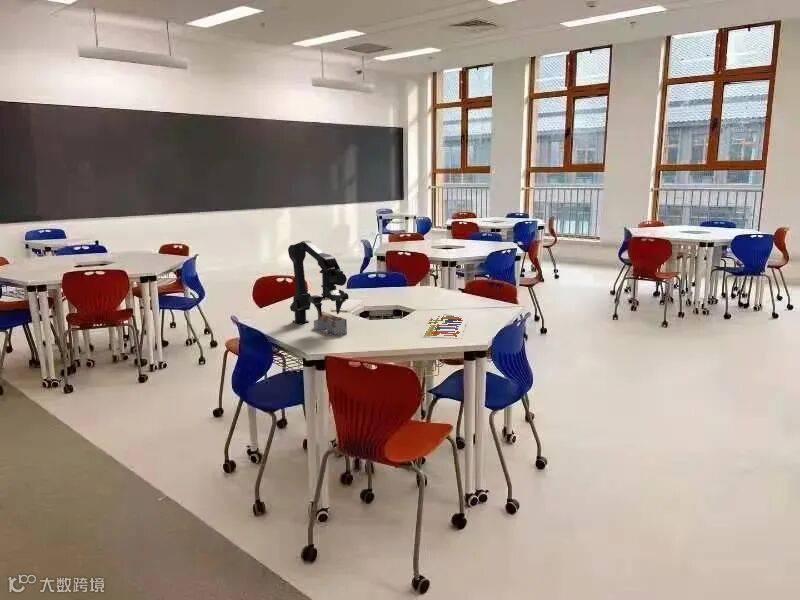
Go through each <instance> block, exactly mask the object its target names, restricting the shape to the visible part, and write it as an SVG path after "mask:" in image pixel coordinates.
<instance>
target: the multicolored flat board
mask: <svg viewBox="0 0 800 600" xmlns="http://www.w3.org/2000/svg"><path fill="white" fill-rule="evenodd" d="M444 315H446V317H444ZM454 316H455V315H450V314H446V313H445V314H443V317H442V318H441V320H438V319H439V318H437V319H436V320H433V319H432V317H431V318H430V319H429V320H428V322H429V321H432V320H433V321H435V322H429V323H428V322H427V324H431V323H434V324H436V323H438V322H437V321H443V319H448V320H445V323H442V324H447V323H462V322H453V321H457V320H458V321H463V320H461V319H462V318H459V317H460V316H459V317H454ZM438 317H440V316H438ZM427 324H426V325H427ZM457 325H461V324H448V325H439V324H437V326H436V325H430V326H431V327H429V329H428V331H426V333H425V335H424V336H437V335H439V334H440V333H441V334H453V335H444V336H455V337H457V335H456V334H459V333H460V332H459V331H457V332H456V333H448V332H455V331H437V330H440V329H455V330H458V328H457V327H459V326H457ZM435 326H436V327H437V328H436V327H435ZM439 326H456V328H455V327H439ZM434 328H435V329H434ZM433 330H436V331H433ZM432 334H433V335H432Z"/></svg>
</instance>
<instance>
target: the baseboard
mask: <svg viewBox="0 0 800 600" xmlns="http://www.w3.org/2000/svg"><path fill="white" fill-rule="evenodd" d="M362 301H363V300H362V299H353V298H352V299H346V301H345V302H343V304H342V306H341V308H340V311H339V313H351V311H353V310H354V309H355V308H356V307H358V306H359V305H360V304H362V303H363V302H362ZM361 302H362V303H361ZM358 304H359V305H358ZM357 305H358V306H357ZM352 309H353V310H352ZM333 311H336V306H334V307H333V308H330V312H333Z"/></svg>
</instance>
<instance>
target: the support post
mask: <svg viewBox="0 0 800 600" xmlns="http://www.w3.org/2000/svg"><path fill="white" fill-rule="evenodd" d="M315 328H316V330H317V329H319V330H324V329H323V328H326V329H327V323H326V322H323V321H321V320H319V319H318V318H317V319H313V329H315Z"/></svg>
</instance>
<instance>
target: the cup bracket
mask: <svg viewBox="0 0 800 600" xmlns="http://www.w3.org/2000/svg"><path fill="white" fill-rule="evenodd" d="M338 317H339V318H341V320H335V321H334V320H331V319H327V328H326V329H327V335H330V334H331V335H330V336H332V335H333V337H337V336H342V335H341V334H343V335H347V334H348V330H347V329H348V327H347V326H348V324H347V321H348V320H347V318H344V317H341V316H338ZM336 335H337V336H336Z"/></svg>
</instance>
